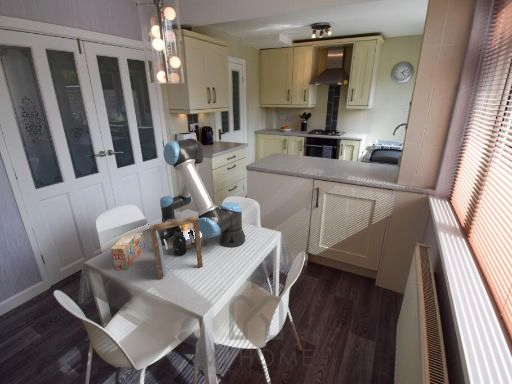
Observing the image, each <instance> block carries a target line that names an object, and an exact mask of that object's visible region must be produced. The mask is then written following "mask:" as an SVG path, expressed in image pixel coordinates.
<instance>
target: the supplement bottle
mask: <svg viewBox="0 0 512 384" xmlns="http://www.w3.org/2000/svg"><path fill="white" fill-rule="evenodd" d="M172 238H173V239H172V240H171V241H172V249H173V251H172V252H173V255H175V256H176V257H183V256H184V255H186V254H187V252H188V251H187V240H186V236H184V235H183V232H175V233H174V236H173V237H172Z"/></svg>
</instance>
